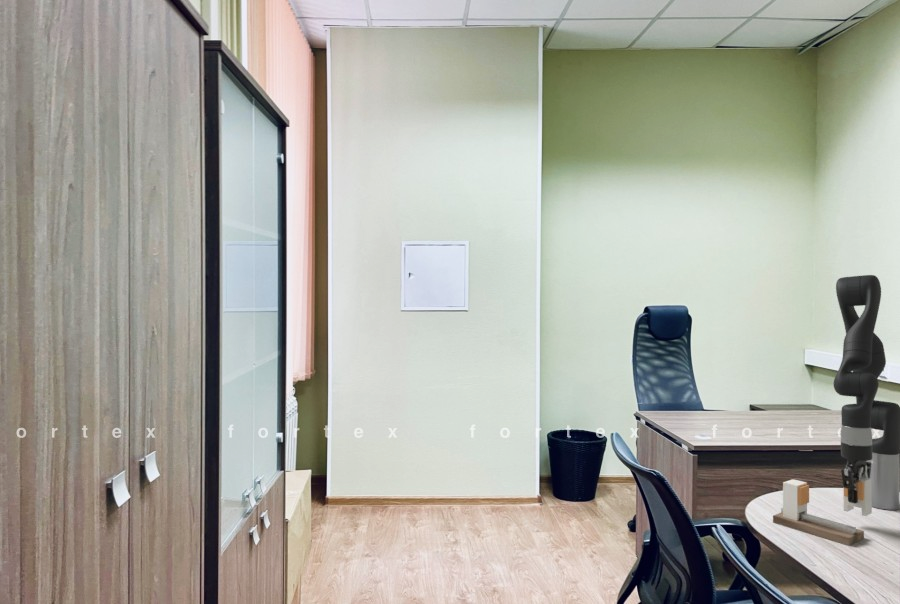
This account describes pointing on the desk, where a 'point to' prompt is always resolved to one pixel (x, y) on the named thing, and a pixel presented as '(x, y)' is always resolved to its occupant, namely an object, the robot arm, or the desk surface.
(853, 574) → the desk surface
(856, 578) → the desk surface
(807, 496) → the rail
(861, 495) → the white block with pad
